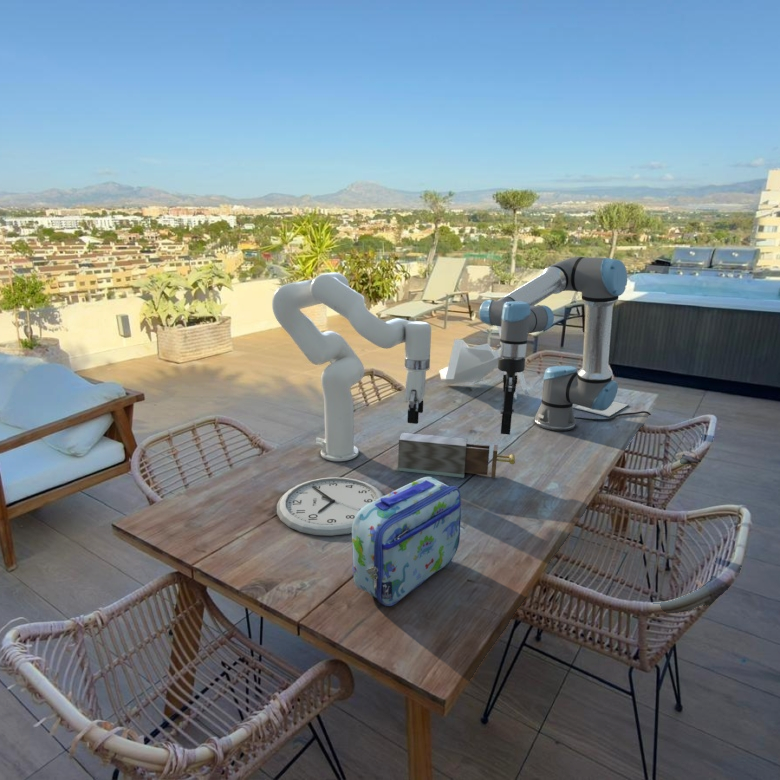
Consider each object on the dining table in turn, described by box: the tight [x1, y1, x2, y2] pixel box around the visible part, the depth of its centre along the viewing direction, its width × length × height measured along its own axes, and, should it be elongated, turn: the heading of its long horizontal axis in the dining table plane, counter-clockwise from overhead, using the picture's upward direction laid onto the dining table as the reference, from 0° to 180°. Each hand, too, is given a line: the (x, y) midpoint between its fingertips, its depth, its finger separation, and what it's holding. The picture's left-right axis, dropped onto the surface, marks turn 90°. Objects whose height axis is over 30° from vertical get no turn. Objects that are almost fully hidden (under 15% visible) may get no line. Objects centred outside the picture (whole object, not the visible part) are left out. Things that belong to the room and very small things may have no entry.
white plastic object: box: [438, 326, 531, 400], centre depth 245 cm, size 37×45×31 cm
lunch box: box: [351, 476, 462, 607], centre depth 111 cm, size 26×11×21 cm, turn 135°
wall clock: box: [276, 476, 385, 537], centre depth 142 cm, size 30×2×30 cm
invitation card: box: [573, 400, 629, 418], centre depth 226 cm, size 21×1×15 cm
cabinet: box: [397, 432, 468, 479], centre depth 163 cm, size 21×6×10 cm, turn 78°
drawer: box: [464, 442, 516, 478], centre depth 161 cm, size 25×5×9 cm, turn 78°
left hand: (415, 417), depth 161 cm, fingers open, 9 cm apart
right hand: (505, 433), depth 156 cm, fingers closed
